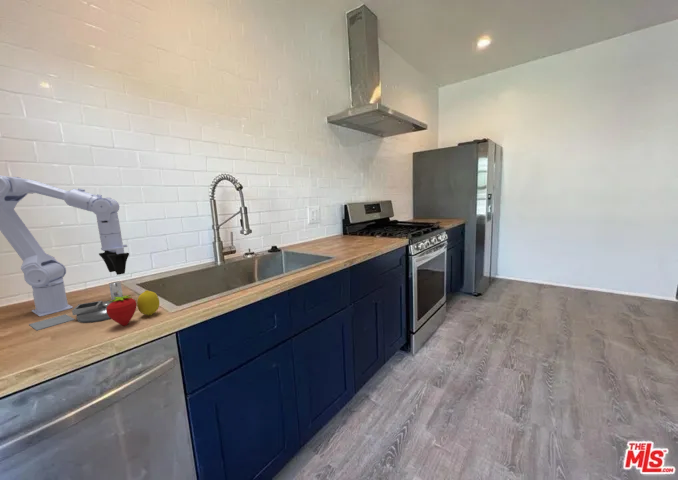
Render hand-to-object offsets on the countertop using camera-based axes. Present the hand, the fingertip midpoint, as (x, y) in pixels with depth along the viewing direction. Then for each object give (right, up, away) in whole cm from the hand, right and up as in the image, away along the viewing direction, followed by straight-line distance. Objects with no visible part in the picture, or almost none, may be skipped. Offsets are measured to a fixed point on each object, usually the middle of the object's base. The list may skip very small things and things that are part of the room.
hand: (117, 272), depth 99 cm
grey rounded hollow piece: (+4, -12, -9) cm, 15 cm away
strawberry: (+17, -13, -19) cm, 28 cm away
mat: (-8, -13, -15) cm, 21 cm away
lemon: (+20, -12, -13) cm, 26 cm away
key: (-1, -10, +1) cm, 11 cm away
